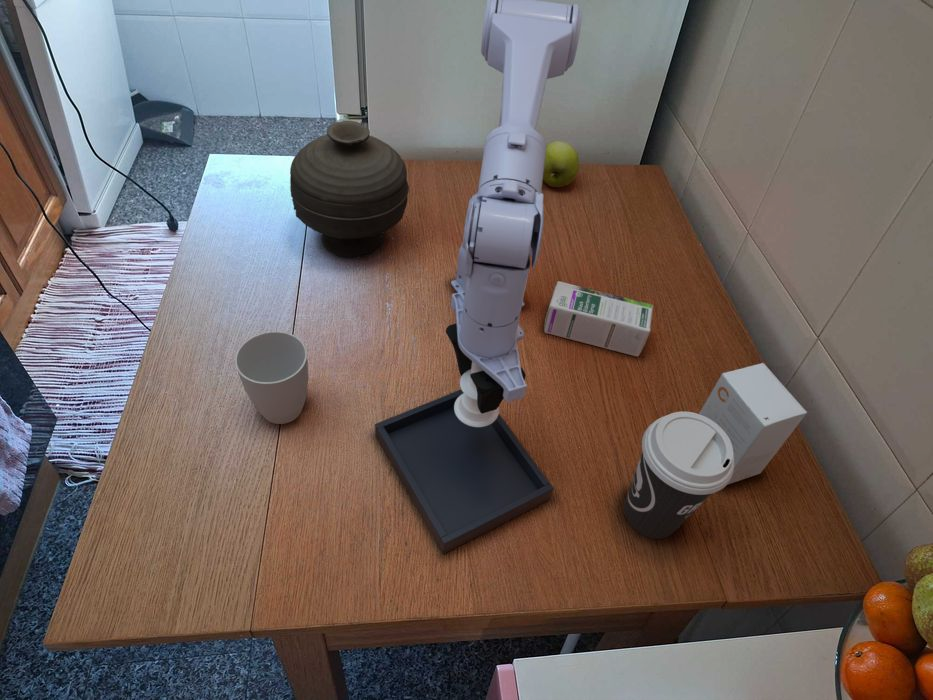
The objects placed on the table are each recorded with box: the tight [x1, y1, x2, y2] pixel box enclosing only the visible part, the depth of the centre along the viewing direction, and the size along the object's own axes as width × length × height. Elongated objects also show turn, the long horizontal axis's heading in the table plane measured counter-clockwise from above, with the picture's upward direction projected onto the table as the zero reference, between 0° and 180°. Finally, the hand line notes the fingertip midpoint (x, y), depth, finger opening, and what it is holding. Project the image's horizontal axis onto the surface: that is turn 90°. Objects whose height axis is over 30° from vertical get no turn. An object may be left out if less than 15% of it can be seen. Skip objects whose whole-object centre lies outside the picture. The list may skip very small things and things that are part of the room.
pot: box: [289, 120, 410, 260], centre depth 99 cm, size 18×18×20 cm
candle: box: [454, 361, 500, 427], centre depth 72 cm, size 5×5×12 cm
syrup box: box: [543, 280, 654, 357], centre depth 94 cm, size 6×6×14 cm
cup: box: [234, 330, 309, 425], centre depth 79 cm, size 8×8×10 cm
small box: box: [698, 362, 808, 486], centre depth 79 cm, size 8×6×13 cm
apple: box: [542, 140, 580, 188], centre depth 120 cm, size 8×9×8 cm
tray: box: [374, 389, 554, 555], centre depth 78 cm, size 18×15×3 cm
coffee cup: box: [623, 411, 734, 540], centre depth 71 cm, size 10×10×15 cm
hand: (478, 392), depth 74 cm, fingers closed on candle, 5 cm apart
